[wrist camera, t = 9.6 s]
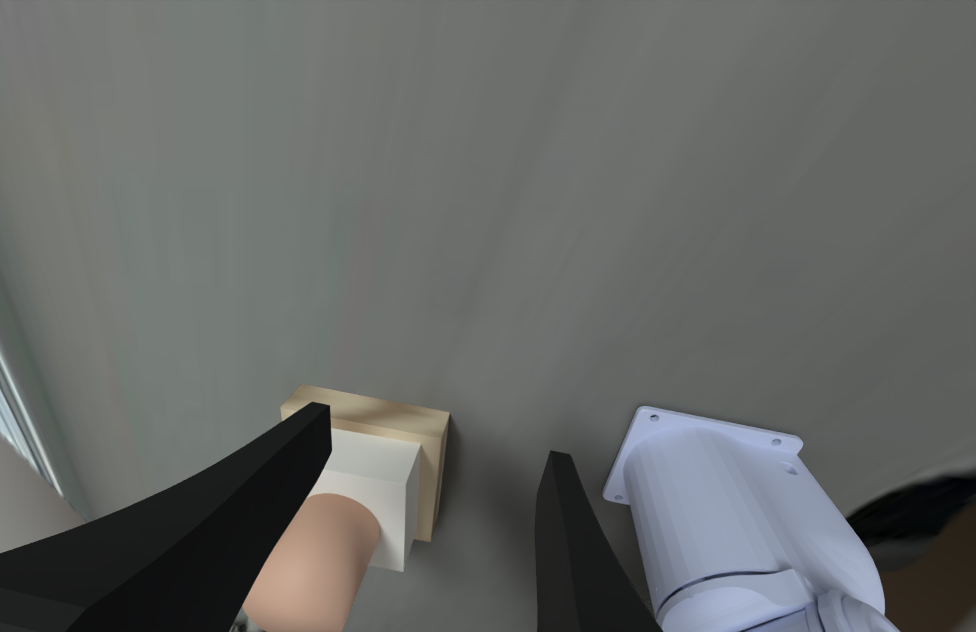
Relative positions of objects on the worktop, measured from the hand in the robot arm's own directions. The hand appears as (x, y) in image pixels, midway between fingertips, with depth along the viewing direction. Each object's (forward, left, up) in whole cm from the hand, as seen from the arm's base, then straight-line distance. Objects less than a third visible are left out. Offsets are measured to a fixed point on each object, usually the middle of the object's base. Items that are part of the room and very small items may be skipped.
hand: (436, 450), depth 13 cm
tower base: (+6, +13, -11) cm, 18 cm away
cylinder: (+6, +13, -5) cm, 15 cm away
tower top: (+6, +13, -8) cm, 16 cm away
